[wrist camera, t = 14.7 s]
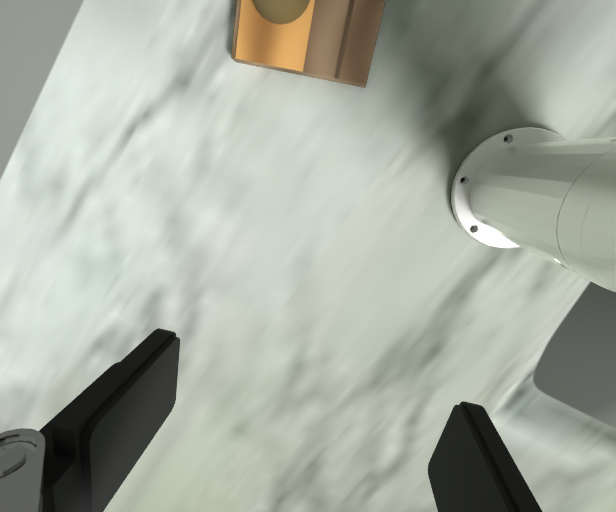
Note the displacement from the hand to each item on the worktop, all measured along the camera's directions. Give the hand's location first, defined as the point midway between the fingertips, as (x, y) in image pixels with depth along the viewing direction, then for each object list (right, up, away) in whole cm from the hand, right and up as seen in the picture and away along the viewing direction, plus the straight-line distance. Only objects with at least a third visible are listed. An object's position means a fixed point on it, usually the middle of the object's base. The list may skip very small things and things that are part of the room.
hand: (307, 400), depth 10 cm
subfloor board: (0, +30, +20) cm, 36 cm away
